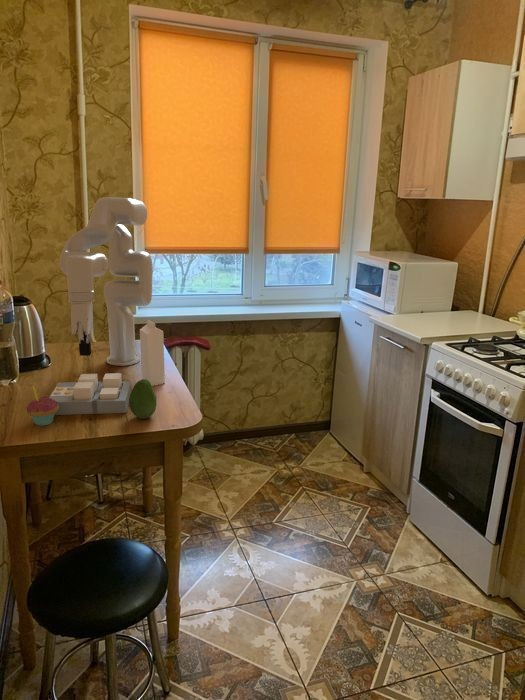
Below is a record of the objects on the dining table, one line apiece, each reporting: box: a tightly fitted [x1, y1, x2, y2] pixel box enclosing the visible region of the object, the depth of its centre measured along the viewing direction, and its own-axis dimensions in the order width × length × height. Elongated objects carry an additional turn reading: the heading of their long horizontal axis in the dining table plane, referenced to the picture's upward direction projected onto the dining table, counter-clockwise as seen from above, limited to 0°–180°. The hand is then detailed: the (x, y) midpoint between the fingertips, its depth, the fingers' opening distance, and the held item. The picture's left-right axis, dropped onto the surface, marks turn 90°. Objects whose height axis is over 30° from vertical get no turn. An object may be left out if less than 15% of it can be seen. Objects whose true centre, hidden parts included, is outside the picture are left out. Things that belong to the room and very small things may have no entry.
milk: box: [139, 319, 166, 387], centre depth 182 cm, size 6×6×22 cm
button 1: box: [77, 373, 99, 390], centre depth 169 cm, size 5×5×5 cm
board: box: [48, 380, 133, 416], centre depth 166 cm, size 16×23×4 cm
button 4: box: [100, 388, 119, 399], centre depth 163 cm, size 5×5×5 cm
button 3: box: [102, 372, 123, 390], centre depth 170 cm, size 5×5×5 cm
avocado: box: [128, 378, 158, 420], centre depth 156 cm, size 8×8×12 cm
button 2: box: [73, 381, 94, 400], centre depth 162 cm, size 5×5×5 cm
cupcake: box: [25, 383, 59, 426], centre depth 151 cm, size 9×8×12 cm
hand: (85, 354), depth 165 cm, fingers closed
